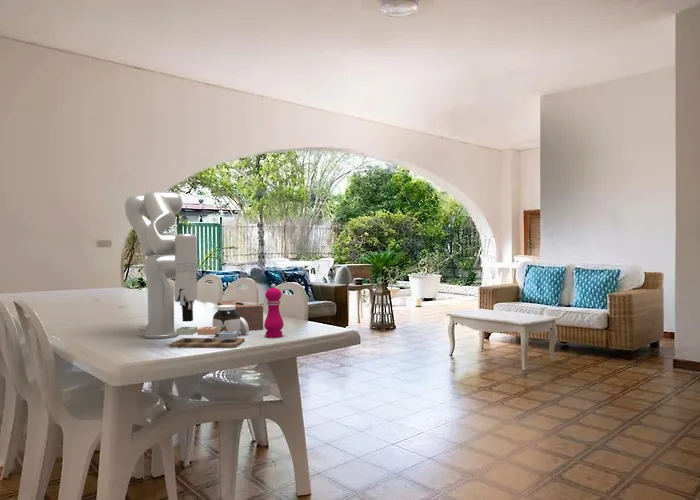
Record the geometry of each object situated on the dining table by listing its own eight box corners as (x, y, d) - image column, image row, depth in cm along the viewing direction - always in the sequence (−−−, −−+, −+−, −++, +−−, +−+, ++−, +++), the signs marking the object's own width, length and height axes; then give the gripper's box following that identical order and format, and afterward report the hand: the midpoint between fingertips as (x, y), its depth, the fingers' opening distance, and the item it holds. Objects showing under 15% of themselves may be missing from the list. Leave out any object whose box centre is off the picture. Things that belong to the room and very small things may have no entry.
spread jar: (209, 337, 209) (209, 306, 209) (226, 332, 219) (226, 303, 219) (236, 338, 205) (236, 307, 204) (252, 334, 215) (252, 304, 215)
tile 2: (197, 335, 191) (197, 328, 191) (202, 332, 197) (202, 326, 197) (213, 335, 191) (212, 328, 191) (218, 332, 196) (217, 326, 196)
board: (169, 347, 189) (169, 341, 189) (182, 341, 201) (182, 335, 201) (235, 347, 187) (235, 342, 187) (244, 341, 199) (244, 335, 199)
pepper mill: (280, 338, 204) (279, 284, 204) (261, 337, 206) (260, 284, 206) (286, 335, 212) (285, 283, 211) (268, 334, 213) (267, 283, 213)
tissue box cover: (263, 330, 225) (263, 306, 225) (227, 333, 220) (227, 308, 219) (250, 321, 249) (250, 299, 249) (218, 324, 243) (217, 301, 243)
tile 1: (176, 334, 192) (176, 328, 192) (182, 332, 197) (182, 326, 197) (191, 335, 191) (191, 328, 191) (197, 332, 197) (197, 326, 197)
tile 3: (218, 339, 191) (218, 333, 191) (223, 336, 196) (223, 330, 196) (234, 339, 190) (234, 333, 190) (238, 336, 196) (238, 330, 196)
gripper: (184, 268, 202) (185, 318, 201) (167, 270, 187) (168, 324, 187) (203, 268, 201) (205, 318, 201) (188, 269, 186) (190, 323, 186)
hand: (187, 321), depth 194 cm, fingers closed
